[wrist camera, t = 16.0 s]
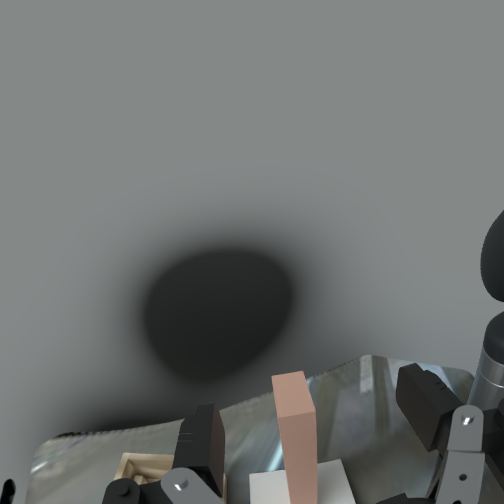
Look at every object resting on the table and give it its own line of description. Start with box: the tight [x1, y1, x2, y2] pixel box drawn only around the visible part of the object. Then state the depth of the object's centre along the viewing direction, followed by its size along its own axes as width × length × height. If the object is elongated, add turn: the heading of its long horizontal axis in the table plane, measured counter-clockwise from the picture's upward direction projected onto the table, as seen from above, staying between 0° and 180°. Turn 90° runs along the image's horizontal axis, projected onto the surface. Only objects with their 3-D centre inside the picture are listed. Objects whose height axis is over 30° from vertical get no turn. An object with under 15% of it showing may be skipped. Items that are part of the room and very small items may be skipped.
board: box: [272, 371, 317, 504], centre depth 27 cm, size 6×3×20 cm, turn 2°
